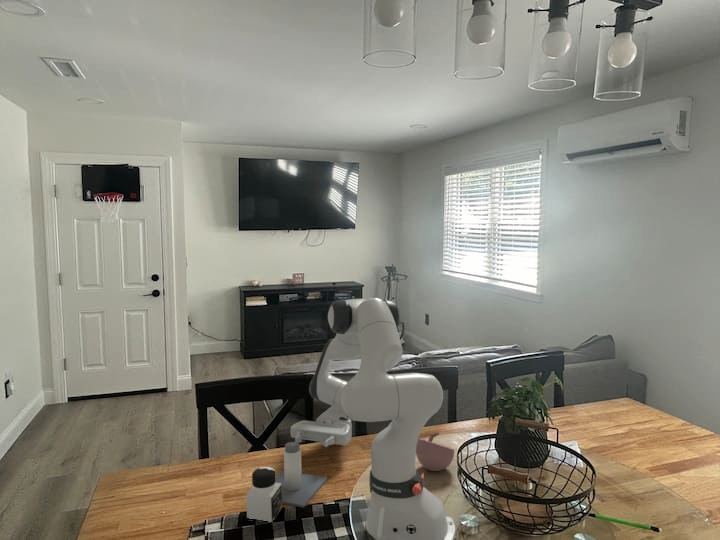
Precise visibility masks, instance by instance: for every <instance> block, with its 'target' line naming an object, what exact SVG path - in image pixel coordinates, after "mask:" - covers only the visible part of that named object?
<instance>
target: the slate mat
mask: <svg viewBox="0 0 720 540" xmlns="http://www.w3.org/2000/svg"><path fill="white" fill-rule="evenodd" d="M275 480H276V483H281V491H282V505H289V506H293V507H297V508H298V507H299V508H305V507H306V506H307V505H308V504H309V502H310V501H311V500H312V499H313V497H314V496H316V494H317V493H318V491H319V490H320V489H321V488H322V487H323V486H324V484H325V483H326V482H327V481H328V480H329V479H328V477H325V476H321V475H314V474H308V473H305V472H304V473H303V472H302V487H301V488H300V489H298V490H295V491H289V490H286V489H285V478H284V469H283V470H282V471H281V472H280V473H279V474H278V475H276V476H275Z"/></svg>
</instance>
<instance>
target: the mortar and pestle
mask: <svg viewBox="0 0 720 540" xmlns="http://www.w3.org/2000/svg"><path fill="white" fill-rule="evenodd" d="M439 435H440V433H439V432H438V431H436V432H432V433H430V435H429V438H428V440H426V439H422V438H419V437H418V440H417V445H416V458H417V461H418V462H419V463H420V465H422V467H424V468H425V469H427V470H429V471H432V472H441V471H443V470H445V469H447V468H449V466H450V465H451V463H452V462H453V460H454V457H455V449H454V448H452V447H450V446H448V445H446V444H444V443H439V442H433V439H434V438H435V437H436V436H439Z"/></svg>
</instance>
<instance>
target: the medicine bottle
mask: <svg viewBox="0 0 720 540" xmlns="http://www.w3.org/2000/svg"><path fill="white" fill-rule="evenodd" d="M251 478H252V479H251V483H252V484H251V485H252V486H251V488H250V489H249V491H247V493H246V499H245V500H246V519H247V518H249V519H258V520H263V521H268V522H267V523H271V522H272V523H273V522H274V521H275V519H276V518H277V516H278V515H279V513H280V511H281V510H282V508H283V503H282V491H281V483H276V480H275V478H276V470H275V469H274V468H273V467H270V466H269V467H268V466H262V467H259V468H257V469H255V470H254V471H253V472H252V474H251ZM276 515H277V516H276ZM275 517H276V518H275ZM273 520H274V521H273Z"/></svg>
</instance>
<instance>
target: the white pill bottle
mask: <svg viewBox="0 0 720 540" xmlns="http://www.w3.org/2000/svg"><path fill="white" fill-rule="evenodd" d="M283 470H284V478H285V489H286V490H289V491H295V490H298V489H300V488H301V487H302V473H303V472H302V470H303V469H302V449H301V447H300V443H298V442H295V441H289V442H287V443H285V445H284V449H283Z"/></svg>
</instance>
